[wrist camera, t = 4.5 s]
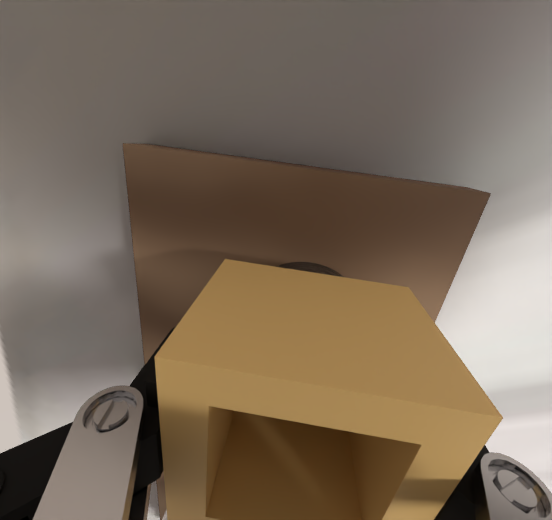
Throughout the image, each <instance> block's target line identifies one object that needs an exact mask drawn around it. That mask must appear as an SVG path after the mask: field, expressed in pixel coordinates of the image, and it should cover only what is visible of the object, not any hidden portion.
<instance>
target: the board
mask: <svg viewBox="0 0 552 520" xmlns="http://www.w3.org/2000/svg"><path fill="white" fill-rule="evenodd" d="M123 152H124V162H125V172H126V182H127V192H128V202H129V212H130V222H131V232H132V242H133V252H134V262H135V272H136V282H137V292H138V302H139V312H140V322H141V332H142V342H143V352H144V362H145V364H146V363H147V362H148V360H149V359H150V357H151V356H152V355H153V353H154V352H155V351H156V349H157V348H158V347H159V345H160V344H161V343H162V341H163V340H164V339H165V337H166V336H167V334H168V333H169V332H170V330H171V329H172V328H173V327H176V326H177V325H178V323H179V322H180V321H181V319H182V318H183V317H184V315H185V314H186V312H187V311H188V310H189V308H190V307H191V305H192V304H193V303H194V301H195V300H196V299H197V297H198V296H199V294H200V293H201V292H202V290H203V289H204V287H205V286H206V285H207V283H208V282H209V281H210V279H211V278H212V276H213V275H214V274H215V272H216V271H217V269H218V268H219V267H220V265H221V264H222V263H223V261H224V260H225V259H229V260H236V261H242V262H248V263H255V264H261V265H268V266H274V267H277V266H279V265H282V264H286V263H291V262H312V263H317V264H321V265H324V266H327V267H329V268H331V269H333V270H335V271H336V272H338V273H339V274H341V275H342V276H343V277H345V278H352V279H358V280H365V281H371V282H378V283H384V284H391V285H397V286H404V287H409V288H410V290H411V291H412V293H413V294H414V295H415V297H416V298H417V299H418V301H419V302H420V304H421V305H422V306H423V308H424V309H425V311H426V312H427V313H428V315H429V316H430V317H431V319H432V320H433V322H434V323H435V320H436V318H437V316H438V314H439V311H440V309H441V307H442V304H443V302H444V300H445V298H446V295H447V293H448V291H449V288H450V286H451V284H452V281H453V279H454V277H455V275H456V272H457V270H458V268H459V265H460V263H461V261H462V259H463V256H464V254H465V252H466V249H467V247H468V245H469V242H470V240H471V238H472V236H473V233H474V231H475V229H476V226H477V224H478V222H479V220H480V217H481V215H482V213H483V210H484V208H485V206H486V204H487V201H488V199H489V197H490V194H491V193H487V192H483V191H479V190H475V189H471V188H467V187H461V186H453V185H446V184H438V183H431V182H424V181H416V180H409V179H402V178H394V177H387V176H379V175H372V174H365V173H357V172H350V171H342V170H335V169H328V168H320V167H313V166H306V165H298V164H291V163H283V162H276V161H269V160H261V159H254V158H247V157H239V156H232V155H224V154H217V153H210V152H202V151H195V150H188V149H180V148H173V147H165V146H158V145H151V144H126V143H123ZM156 482H157V492H158V502H159V512H160V520H162V519H163V516H164V513H165V511H166V508H167V507H166V495H165V482H164V470H163V472H162V474H161V477H160V478H159V479H157V480H156Z"/></svg>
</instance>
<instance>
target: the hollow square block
mask: <svg viewBox="0 0 552 520" xmlns="http://www.w3.org/2000/svg"><path fill="white" fill-rule="evenodd" d="M154 358H155V370H156V382H157V395H158V407H159V420H160V432H161V445H162V457H163V470H164V482H165V495H166V507H167V520H434V519H435V517H436V516H437V514H438V513H439V511H440V510H441V508H442V507H443V505H444V504H445V502H446V501H447V499H448V498H449V497H450V495H451V494H452V492H453V491H454V489H455V488H456V486H457V485H458V483H459V482H460V480H461V479H462V477H463V476H464V474H465V473H466V472H467V470H468V469H469V467H470V466H471V464H472V463H473V461H474V460H475V458H476V457H477V455H478V454H479V452H480V451H481V449H482V448H483V447H484V445H485V444H486V442H487V441H488V439H489V438H490V436H491V435H492V433H493V432H494V430H495V429H496V427H497V426H498V424H499V423H500V422H501V420H502V419H503V417H502V416H501V414H500V413H499V412H498V410H497V409H496V407H495V406H494V405H493V403H492V402H491V400H490V399H489V398H488V396H487V395H486V394H485V392H484V391H483V389H482V388H481V387H480V385H479V384H478V382H477V381H476V380H475V378H474V377H473V376H472V374H471V373H470V371H469V370H468V369H467V367H466V366H465V364H464V363H463V362H462V360H461V359H460V358H459V356H458V355H457V353H456V352H455V351H454V349H453V348H452V347H451V345H450V344H449V342H448V341H447V340H446V338H445V337H444V335H443V334H442V333H441V331H440V330H439V329H438V327H437V326H436V324H435V323H434V322H433V320H432V319H431V317H430V316H429V315H428V313H427V312H426V311H425V309H424V308H423V306H422V305H421V304H420V302H419V301H418V299H417V298H416V297H415V295H414V294H413V293H412V291H411V290H410V288H409V287H404V286H397V285H391V284H384V283H378V282H371V281H365V280H358V279H352V278H345V277H339V276H333V275H326V274H320V273H313V272H307V271H300V270H294V269H287V268H281V267H274V266H268V265H261V264H255V263H248V262H242V261H236V260H229V259H225V260H224V261H223V263H222V264H221V265H220V267H219V268H218V269H217V271H216V272H215V274H214V275H213V276H212V278H211V279H210V281H209V282H208V283H207V285H206V286H205V287H204V289H203V290H202V292H201V293H200V294H199V296H198V297H197V299H196V300H195V301H194V303H193V304H192V305H191V307H190V308H189V310H188V311H187V312H186V314H185V315H184V317H183V318H182V319H181V321H180V322H179V323H178V325H177V326H176V328H175V329H174V330H173V332H172V333H171V335H170V336H169V337H168V339H167V340H166V341H165V343H164V344H163V346H162V347H161V348H160V350H159V351H158V353H157V354H156V355H155V357H154Z"/></svg>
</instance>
